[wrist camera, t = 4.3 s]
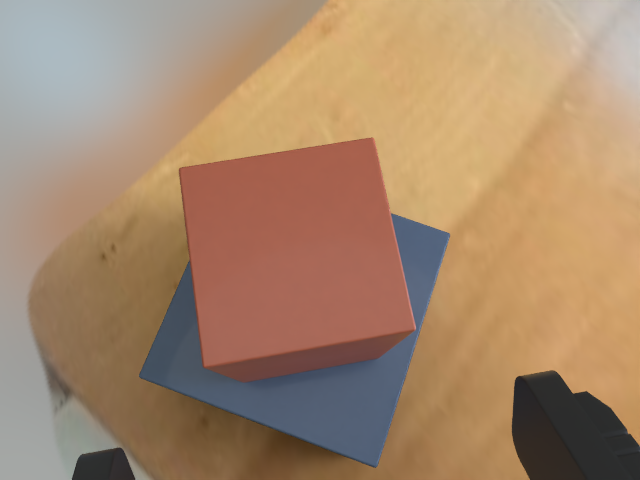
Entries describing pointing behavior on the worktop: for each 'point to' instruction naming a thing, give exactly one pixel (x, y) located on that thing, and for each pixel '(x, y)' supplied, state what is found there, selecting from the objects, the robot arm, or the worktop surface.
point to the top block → (294, 261)
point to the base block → (311, 386)
